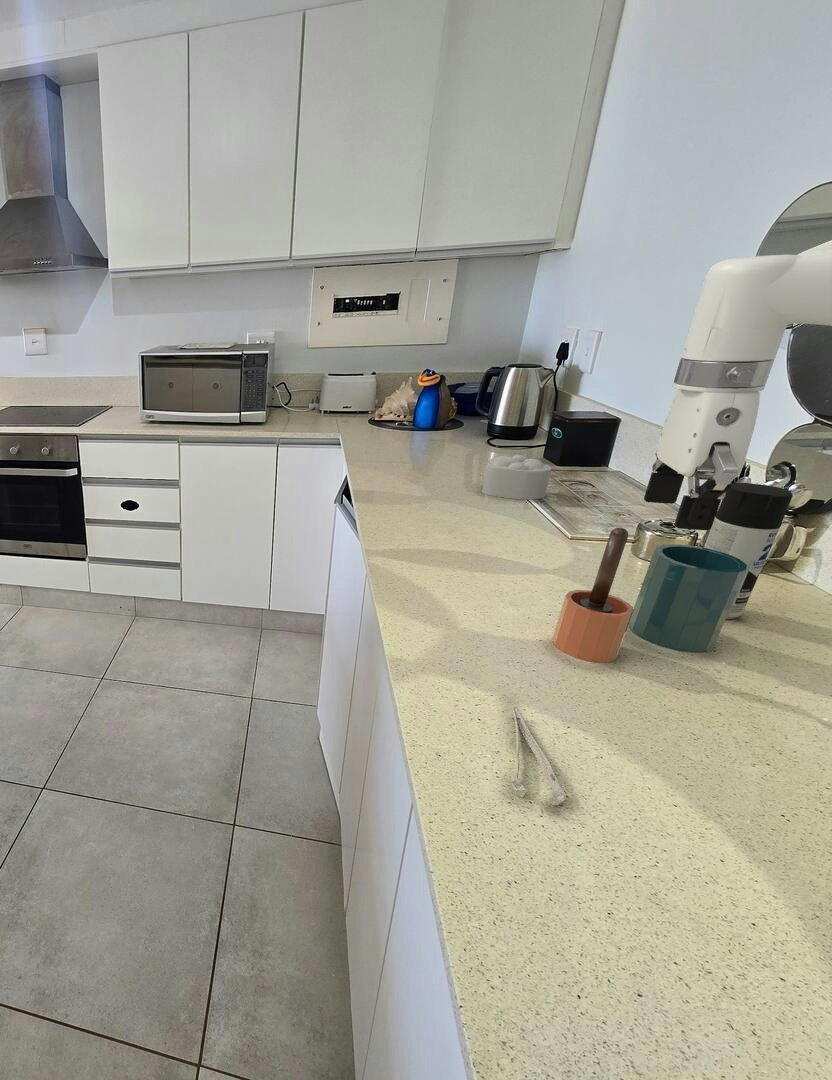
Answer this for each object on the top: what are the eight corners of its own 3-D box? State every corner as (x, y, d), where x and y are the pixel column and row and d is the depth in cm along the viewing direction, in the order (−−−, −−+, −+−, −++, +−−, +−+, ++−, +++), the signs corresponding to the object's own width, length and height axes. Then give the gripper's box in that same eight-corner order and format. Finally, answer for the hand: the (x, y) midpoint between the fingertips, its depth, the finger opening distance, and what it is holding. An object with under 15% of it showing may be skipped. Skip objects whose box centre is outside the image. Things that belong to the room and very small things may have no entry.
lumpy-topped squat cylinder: (484, 483, 151) (491, 451, 148) (544, 490, 144) (553, 456, 141) (480, 494, 143) (488, 460, 140) (544, 502, 136) (553, 467, 133)
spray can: (738, 625, 86) (795, 499, 79) (677, 609, 91) (725, 489, 83) (742, 609, 90) (797, 488, 83) (684, 594, 95) (730, 478, 87)
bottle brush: (594, 643, 83) (633, 524, 76) (601, 656, 80) (644, 534, 73) (563, 638, 84) (599, 521, 77) (570, 651, 81) (608, 531, 74)
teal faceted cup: (694, 627, 86) (727, 548, 81) (724, 661, 79) (762, 576, 74) (618, 617, 90) (644, 541, 85) (639, 648, 82) (670, 566, 77)
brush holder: (605, 642, 84) (622, 594, 81) (623, 670, 78) (641, 619, 75) (546, 633, 87) (560, 586, 84) (558, 660, 81) (574, 610, 77)
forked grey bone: (565, 809, 58) (570, 793, 57) (509, 795, 60) (513, 779, 59) (531, 711, 73) (534, 698, 72) (487, 703, 75) (490, 689, 74)
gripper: (812, 386, 57) (750, 544, 64) (726, 365, 72) (683, 495, 78) (712, 387, 60) (663, 537, 67) (649, 366, 75) (614, 491, 81)
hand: (674, 514), depth 73 cm, fingers open, 9 cm apart
